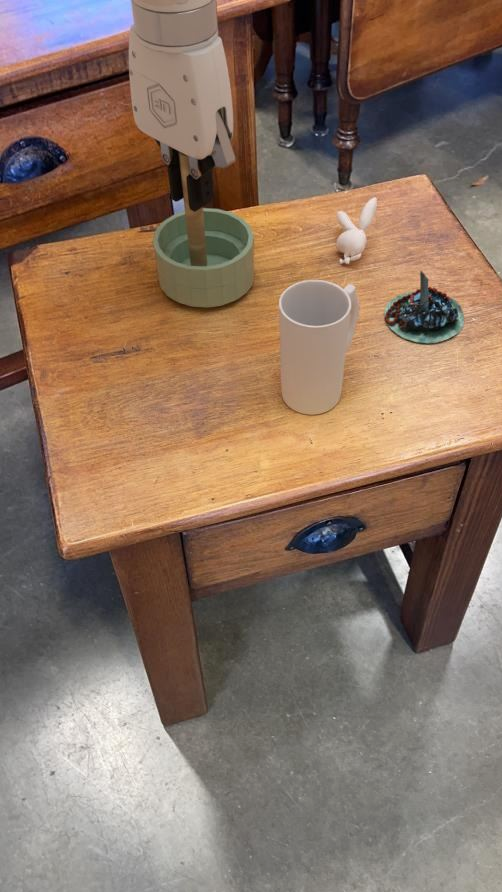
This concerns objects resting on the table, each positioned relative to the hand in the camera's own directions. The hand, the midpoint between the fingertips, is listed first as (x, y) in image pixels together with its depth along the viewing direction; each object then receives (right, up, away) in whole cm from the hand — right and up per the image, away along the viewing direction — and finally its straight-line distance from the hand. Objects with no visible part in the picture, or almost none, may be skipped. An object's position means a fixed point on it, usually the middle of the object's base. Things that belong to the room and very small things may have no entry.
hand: (192, 199), depth 89 cm
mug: (+14, -20, -1) cm, 25 cm away
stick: (0, -5, +7) cm, 9 cm away
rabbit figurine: (+18, -1, +13) cm, 22 cm away
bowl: (+1, -7, +8) cm, 11 cm away
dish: (+26, -12, +5) cm, 29 cm away
